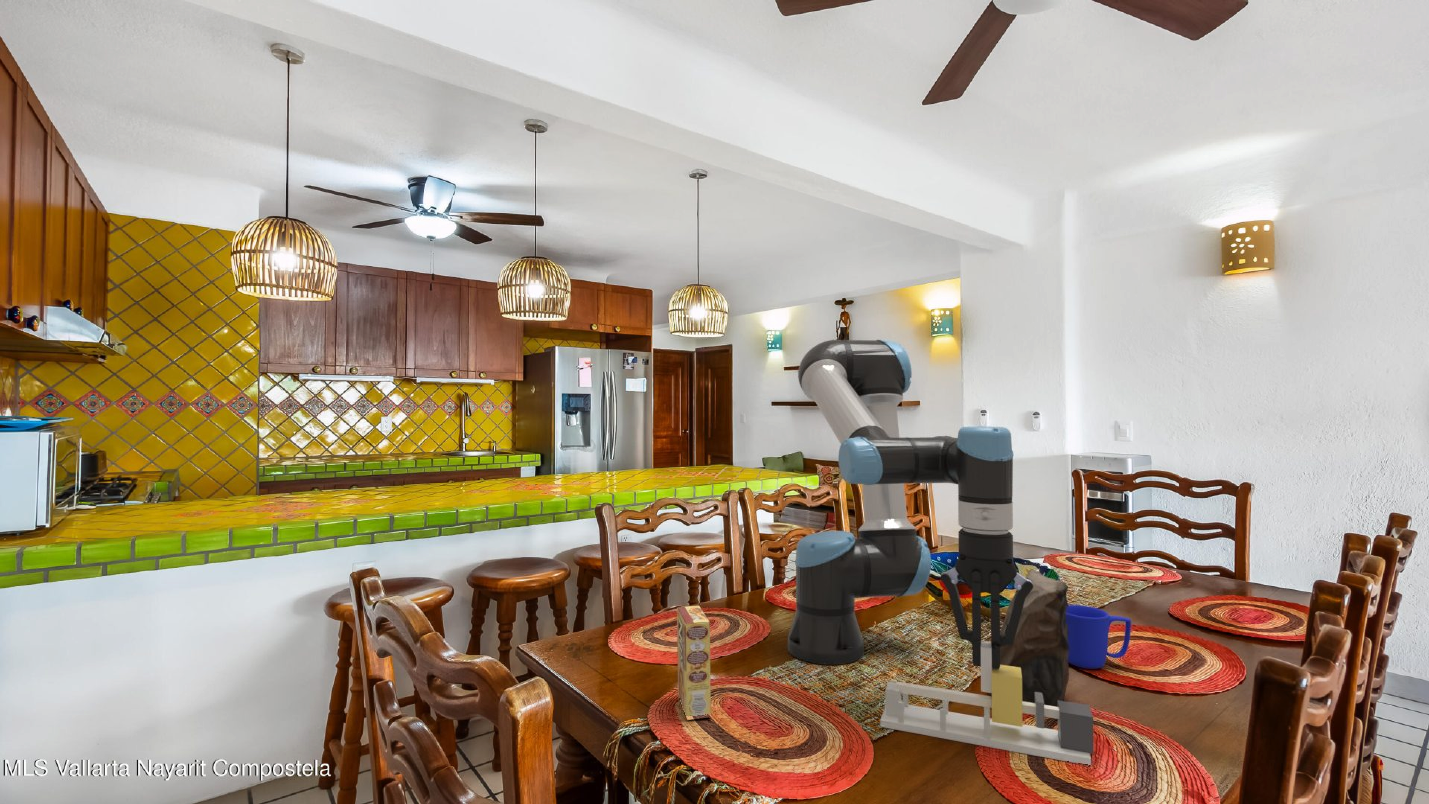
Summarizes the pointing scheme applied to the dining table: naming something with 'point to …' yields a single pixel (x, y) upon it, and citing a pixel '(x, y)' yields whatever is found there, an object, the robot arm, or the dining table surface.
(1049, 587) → the brown rock
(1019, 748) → the comb rail
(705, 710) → the candy box
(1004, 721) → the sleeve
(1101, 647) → the mug
